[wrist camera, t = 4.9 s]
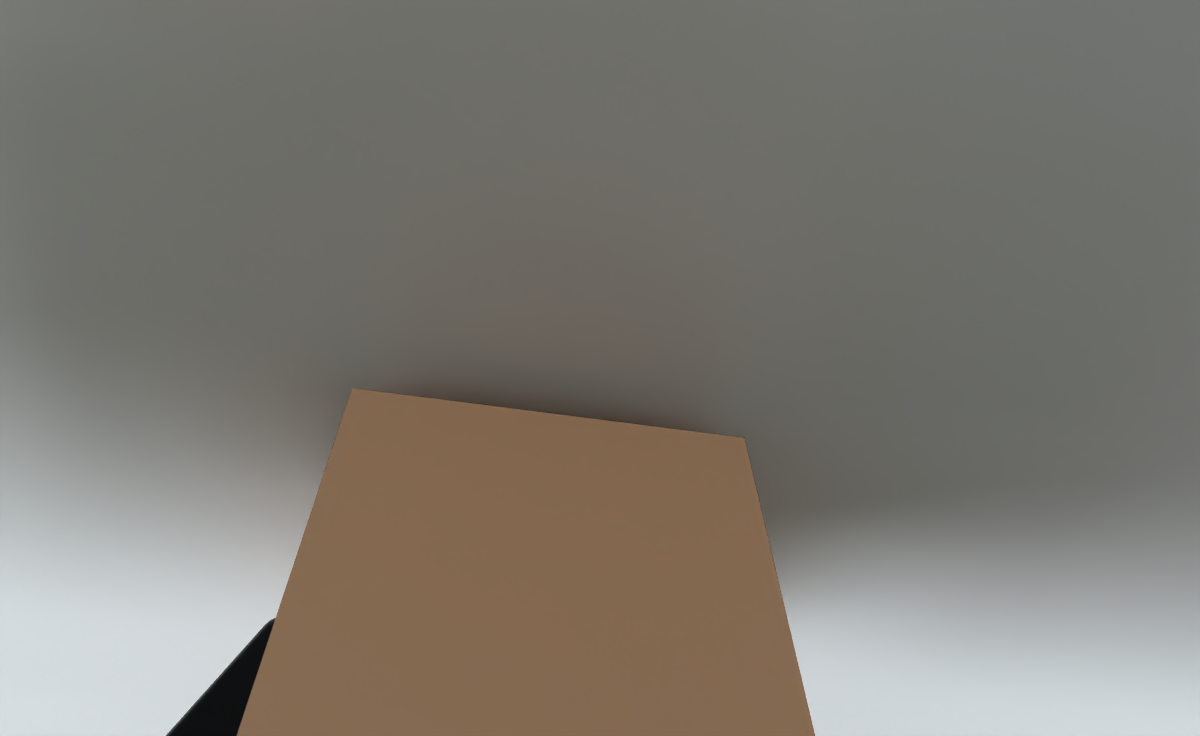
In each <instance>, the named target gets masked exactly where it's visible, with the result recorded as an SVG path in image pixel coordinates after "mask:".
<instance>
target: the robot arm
mask: <svg viewBox="0 0 1200 736" xmlns="http://www.w3.org/2000/svg"><path fill="white" fill-rule="evenodd" d="M275 619H276V618H274V619H272V620H270V621H269V622H268V623H267V624H266V625H265V626H264V627H263V628H262V629H261V630H260V631H259V632H258V633H257V635H256V636H255V637H254V638H253V639H252V640H251V641H250V642H249V643H248V645H247V646H246V647H245V648H244V649H243V650H242V651H241V652H240V654H239V655H238V656H237V657H236V658H235V659H234V660H233V661H232V662H231V664H230V665H229V666H228V667H227V668H226V669H225V670H224V671H223V673H222V674H221V675H220V676H219V677H218V678H217V679H216V680H215V681H214V683H213V684H212V685H211V686H210V687H209V688H208V689H207V690H206V691H205V693H204V694H203V695H202V696H201V697H200V698H199V699H198V700H197V702H196V703H195V704H194V705H193V706H192V707H191V708H190V709H189V710H188V712H187V713H186V714H185V715H184V716H183V717H182V718H181V719H180V721H179V722H178V723H177V724H176V725H175V726H174V727H173V728H172V729H171V731H170V732H169V733H168V734H167V735H166V736H237V733H238V730H239V727H240V724H241V721H242V718H243V715H244V712H245V709H246V706H247V703H248V700H249V697H250V694H251V691H252V688H253V685H254V682H255V679H256V676H257V673H258V670H259V667H260V664H261V661H262V658H263V655H264V652H265V649H266V646H267V643H268V640H269V637H270V634H271V631H272V628H273V625H274V622H275Z"/></svg>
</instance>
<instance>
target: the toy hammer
mask: <svg viewBox="0 0 1200 736" xmlns="http://www.w3.org/2000/svg"><path fill="white" fill-rule="evenodd" d="M237 736H815V733H814V729H813V725H812V721H811V716H810V712H809V708H808V704H807V700H806V695H805V691H804V687H803V683H802V679H801V674H800V670H799V666H798V662H797V657H796V653H795V649H794V645H793V641H792V636H791V632H790V628H789V624H788V620H787V615H786V611H785V607H784V603H783V598H782V594H781V590H780V586H779V582H778V577H777V573H776V569H775V565H774V561H773V556H772V552H771V548H770V544H769V540H768V535H767V531H766V527H765V523H764V518H763V514H762V510H761V506H760V502H759V497H758V493H757V489H756V485H755V481H754V476H753V472H752V468H751V464H750V459H749V455H748V451H747V447H746V443H745V438H742V437H734V436H726V435H718V434H710V433H702V432H694V431H686V430H678V429H671V428H663V427H655V426H647V425H639V424H631V423H623V422H615V421H607V420H600V419H592V418H584V417H576V416H568V415H560V414H552V413H544V412H536V411H529V410H521V409H513V408H505V407H497V406H489V405H481V404H473V403H465V402H458V401H450V400H442V399H434V398H426V397H418V396H410V395H402V394H394V393H387V392H379V391H371V390H363V389H355V388H352V390H351V393H350V396H349V399H348V402H347V405H346V408H345V411H344V414H343V417H342V420H341V423H340V426H339V429H338V432H337V435H336V438H335V441H334V444H333V447H332V450H331V453H330V456H329V459H328V462H327V465H326V468H325V471H324V474H323V477H322V480H321V483H320V486H319V490H318V493H317V496H316V499H315V502H314V505H313V508H312V511H311V514H310V517H309V520H308V523H307V526H306V529H305V532H304V535H303V538H302V541H301V544H300V547H299V550H298V553H297V556H296V559H295V562H294V565H293V568H292V571H291V574H290V577H289V580H288V583H287V586H286V589H285V592H284V595H283V598H282V601H281V604H280V607H279V610H278V613H277V616H276V619H275V622H274V625H273V628H272V631H271V634H270V637H269V640H268V643H267V646H266V649H265V652H264V655H263V658H262V661H261V664H260V667H259V670H258V673H257V676H256V679H255V682H254V685H253V688H252V691H251V694H250V697H249V700H248V703H247V706H246V709H245V712H244V715H243V718H242V721H241V724H240V727H239V730H238V733H237Z"/></svg>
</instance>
